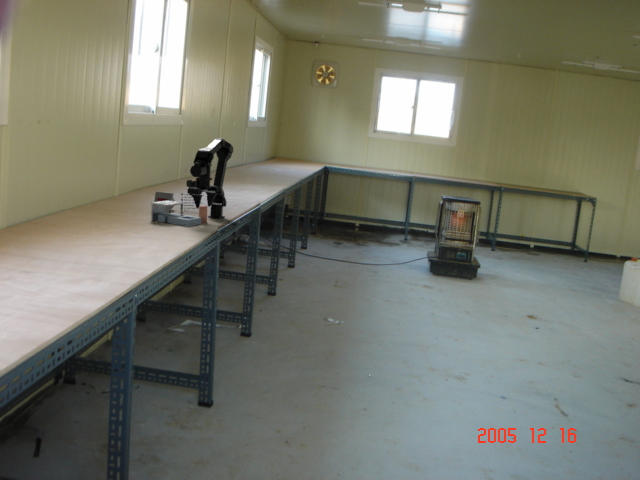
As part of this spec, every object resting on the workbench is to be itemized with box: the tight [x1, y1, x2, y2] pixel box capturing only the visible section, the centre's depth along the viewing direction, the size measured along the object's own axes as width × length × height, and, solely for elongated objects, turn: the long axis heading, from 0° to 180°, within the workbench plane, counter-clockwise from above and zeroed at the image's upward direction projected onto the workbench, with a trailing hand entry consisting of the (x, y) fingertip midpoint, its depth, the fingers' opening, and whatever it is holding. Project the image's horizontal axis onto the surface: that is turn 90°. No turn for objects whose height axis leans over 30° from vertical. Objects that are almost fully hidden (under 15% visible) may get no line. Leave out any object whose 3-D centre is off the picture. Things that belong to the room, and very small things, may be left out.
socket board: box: [157, 212, 202, 227], centre depth 283 cm, size 10×18×3 cm, turn 64°
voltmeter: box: [153, 191, 205, 213], centre depth 317 cm, size 27×11×10 cm, turn 112°
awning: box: [150, 200, 184, 224], centre depth 285 cm, size 13×9×9 cm
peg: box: [198, 205, 208, 224], centre depth 287 cm, size 4×4×8 cm
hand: (203, 207), depth 287 cm, fingers open, 9 cm apart
